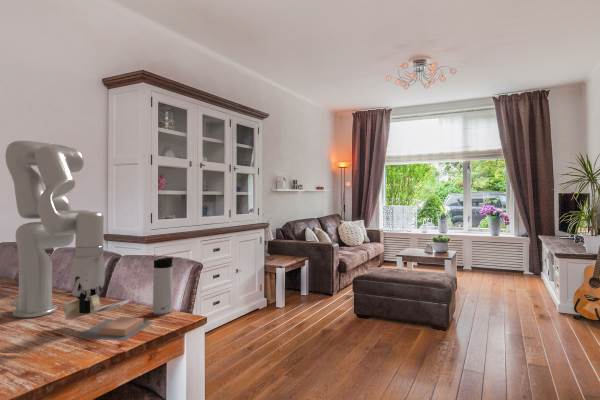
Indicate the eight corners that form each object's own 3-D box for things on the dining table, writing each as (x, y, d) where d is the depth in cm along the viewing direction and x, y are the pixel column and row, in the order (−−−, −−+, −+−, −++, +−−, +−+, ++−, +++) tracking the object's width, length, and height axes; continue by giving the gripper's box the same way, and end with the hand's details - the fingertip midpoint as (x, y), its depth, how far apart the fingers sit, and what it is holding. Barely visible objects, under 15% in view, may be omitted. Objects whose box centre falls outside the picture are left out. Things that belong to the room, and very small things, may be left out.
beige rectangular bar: (63, 321, 115) (59, 305, 115) (75, 315, 120) (71, 300, 120) (119, 306, 112) (115, 290, 112) (129, 301, 117) (125, 286, 117)
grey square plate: (73, 339, 108) (73, 337, 108) (108, 321, 124) (108, 319, 124) (125, 342, 106) (125, 340, 106) (153, 323, 122) (153, 321, 122)
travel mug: (166, 317, 129) (167, 259, 128) (149, 316, 130) (149, 258, 130) (176, 312, 135) (176, 256, 135) (159, 310, 136) (160, 255, 136)
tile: (99, 327, 110) (125, 329, 109) (119, 316, 120) (143, 318, 119) (99, 334, 110) (125, 336, 110) (119, 323, 120) (143, 324, 119)
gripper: (95, 247, 125) (95, 303, 125) (58, 255, 108) (57, 319, 109) (116, 248, 124) (116, 304, 124) (82, 256, 108) (81, 320, 108)
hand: (88, 310), depth 116 cm, fingers closed on beige rectangular bar, 3 cm apart
